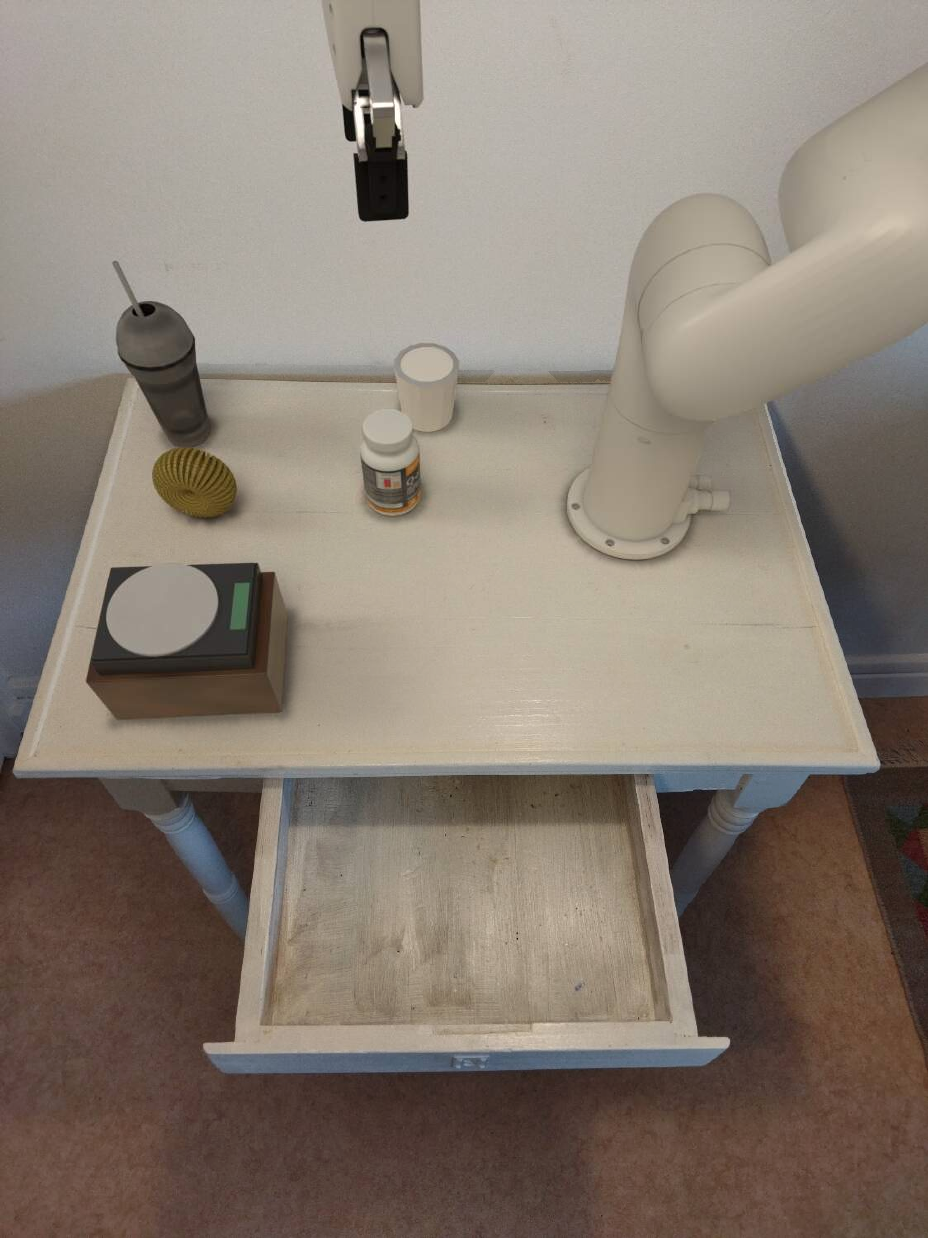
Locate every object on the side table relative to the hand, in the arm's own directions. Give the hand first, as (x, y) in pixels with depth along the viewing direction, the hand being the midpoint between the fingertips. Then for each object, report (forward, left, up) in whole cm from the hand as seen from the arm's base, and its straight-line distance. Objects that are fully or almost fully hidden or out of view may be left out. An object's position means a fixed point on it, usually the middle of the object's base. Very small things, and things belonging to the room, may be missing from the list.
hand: (375, 176), depth 53 cm
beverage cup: (+22, -10, -33) cm, 41 cm away
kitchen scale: (+17, +19, -26) cm, 37 cm away
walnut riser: (+17, +19, -33) cm, 42 cm away
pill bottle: (0, 0, -33) cm, 33 cm away
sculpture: (+19, +1, -33) cm, 38 cm away
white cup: (-4, -12, -33) cm, 36 cm away
